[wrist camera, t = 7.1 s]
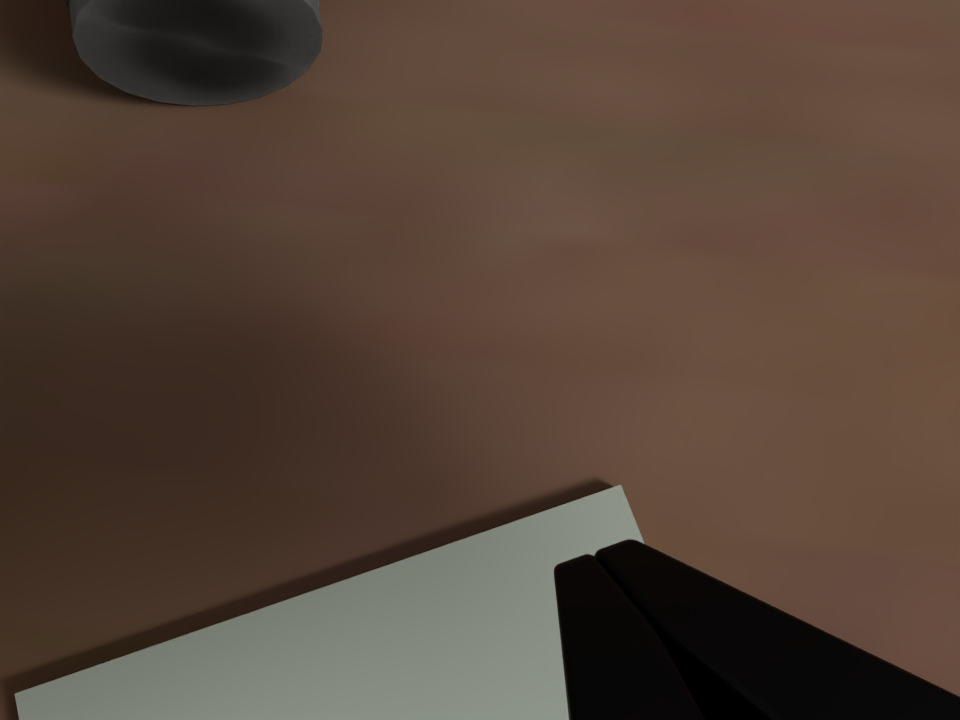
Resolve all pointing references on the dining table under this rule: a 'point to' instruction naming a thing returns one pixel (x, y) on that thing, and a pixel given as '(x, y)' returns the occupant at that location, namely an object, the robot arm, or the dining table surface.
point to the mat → (373, 640)
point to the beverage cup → (197, 46)
